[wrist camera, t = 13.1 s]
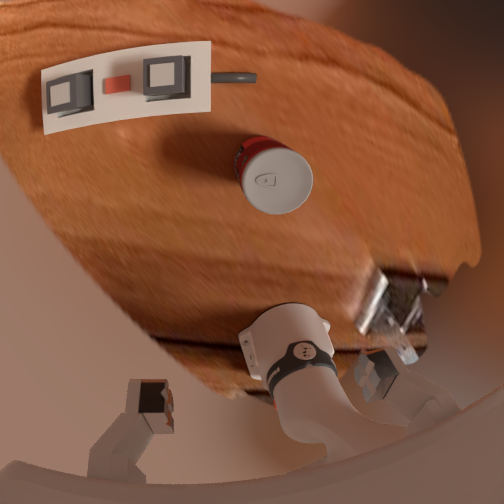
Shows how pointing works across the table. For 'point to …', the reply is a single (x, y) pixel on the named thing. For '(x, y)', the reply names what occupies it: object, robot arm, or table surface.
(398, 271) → the table surface
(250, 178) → the canned food
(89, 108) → the pdu strip
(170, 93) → the plug
